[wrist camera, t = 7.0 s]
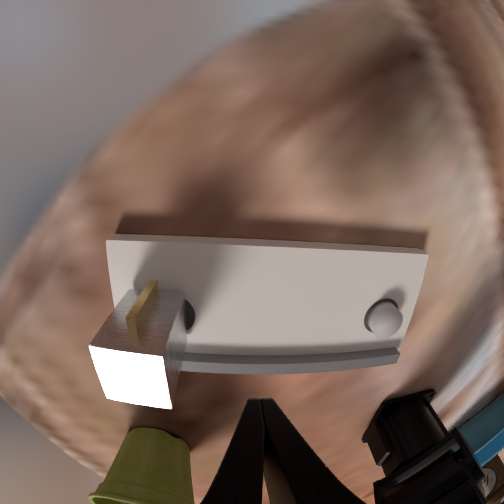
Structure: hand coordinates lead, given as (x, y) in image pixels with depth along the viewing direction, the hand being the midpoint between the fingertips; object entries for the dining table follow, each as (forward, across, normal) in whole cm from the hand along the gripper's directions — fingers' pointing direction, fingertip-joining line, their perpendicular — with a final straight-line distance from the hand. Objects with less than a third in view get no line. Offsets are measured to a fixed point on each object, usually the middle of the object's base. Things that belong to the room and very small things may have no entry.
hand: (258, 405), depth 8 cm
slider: (+6, +5, 0) cm, 8 cm away
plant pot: (+8, +7, +16) cm, 20 cm away
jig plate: (+8, -2, 0) cm, 8 cm away
